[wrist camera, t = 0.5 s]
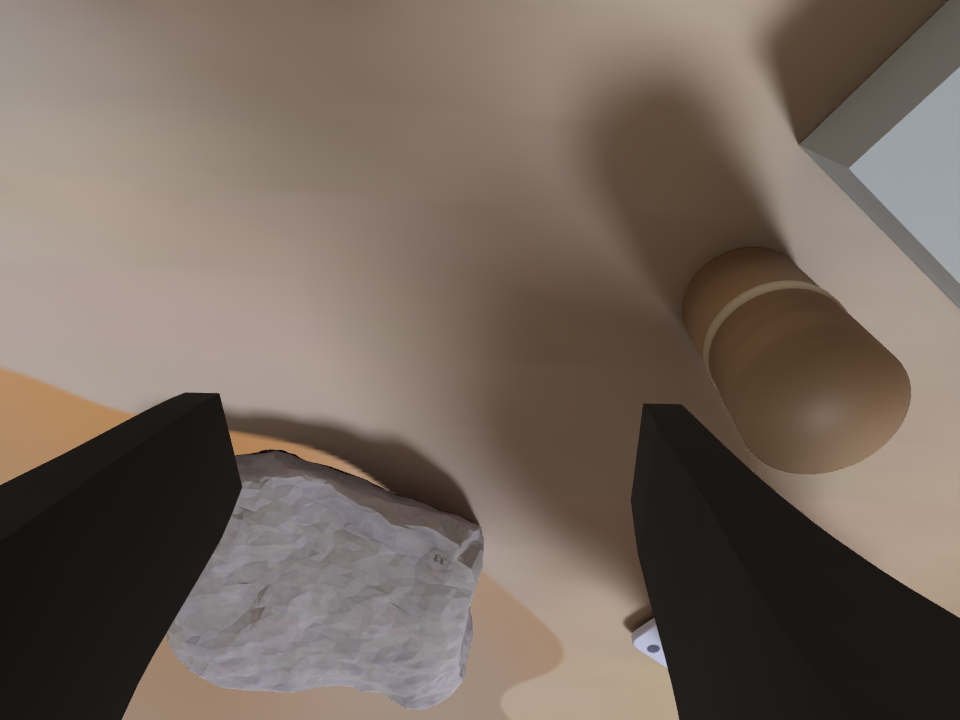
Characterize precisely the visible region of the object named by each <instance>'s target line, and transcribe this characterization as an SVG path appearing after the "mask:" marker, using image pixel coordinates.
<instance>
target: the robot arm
mask: <svg viewBox="0 0 960 720" xmlns="http://www.w3.org/2000/svg"><path fill="white" fill-rule="evenodd" d="M241 490H242V483H241V479H240V475H239V471H238V467H237V463H236V459H235V455H234V451H233V447H232V443H231V439H230V435H229V431H228V427H227V423H226V419H225V415H224V411H223V407H222V402H221V398H220V394H219V393H183V394H181V395H178V396H176V397H173V398H171V399H169V400H166V401H164V402H162V403H160V404H158V405H156V406H154V407H152V408H150V409H148V410H146V411H144V412H142V413H140V414H138V415H136V416H135V417H133V418H131V419H129V420H127V421H125V422H123V423H121V424H119V425H118V426H116V427H114V428H112V429H110V430H108V431H106V432H105V433H103V434H101V435H99V436H97V437H95V438H93V439H91V440H89V441H87V442H85V443H84V444H82V445H80V446H78V447H76V448H74V449H72V450H70V451H68V452H66V453H64V454H63V455H61V456H58V457H57V458H54V459H52V460H50V461H49V462H46V463H44V464H42V465H40V466H38V467H37V468H34V469H32V470H30V471H28V472H26V473H24V474H22V475H20V476H18V477H16V478H14V479H12V480H10V481H8V482H6V483H4V484H2V485H0V720H121V719H122V717H123V715H124V713H125V711H126V709H127V707H128V704H129V702H130V700H131V698H132V696H133V694H134V691H135V689H136V687H137V685H138V683H139V681H140V679H141V677H142V675H143V674H144V672H145V670H146V668H147V666H148V664H149V662H150V661H151V659H152V657H153V655H154V653H155V651H156V650H157V648H158V647H159V645H160V643H161V641H162V640H163V638H164V636H165V635H166V633H167V631H168V630H169V628H170V626H171V624H172V623H173V621H174V619H175V618H176V616H177V614H178V613H179V611H180V609H181V608H182V606H183V604H184V602H185V601H186V599H187V597H188V596H189V594H190V592H191V591H192V589H193V587H194V586H195V584H196V582H197V580H198V579H199V577H200V575H201V574H202V572H203V570H204V568H205V567H206V565H207V563H208V561H209V560H210V558H211V556H212V554H213V553H214V551H215V549H216V547H217V546H218V544H219V542H220V540H221V538H222V536H223V534H224V532H225V529H226V527H227V525H228V522H229V520H230V518H231V515H232V513H233V510H234V508H235V505H236V503H237V500H238V497H239V495H240V492H241ZM631 504H632V513H633V521H634V529H635V536H636V543H637V551H638V556H639V560H640V564H641V568H642V572H643V576H644V580H645V584H646V588H647V592H648V596H649V599H650V603H651V607H652V611H653V615H654V618H653V619H651V620H650V621H648V622H647V623H645V624H644V625H642V626H641V627H639V628H638V629H636V630H635V631H634V632H633V633H632V636H631V637H632V643H633V646H634V647H635V648H637V649H638V650H640V651H641V652H643V653H645V654H646V655H648V656H649V657H651V658H652V659H654V660H656V661H657V662H659V663H660V664H662V665H663V666H665V667H666V668H668V671H669V675H670V679H671V683H672V687H673V692H674V696H675V701H676V705H677V710H678V715H679V720H960V618H959V617H957V616H955V615H954V614H952V613H950V612H949V611H947V610H945V609H944V608H942V607H940V606H939V605H937V604H935V603H934V602H932V601H930V600H929V599H927V598H925V597H923V596H922V595H920V594H918V593H917V592H915V591H913V590H912V589H910V588H908V587H907V586H905V585H904V584H902V583H900V582H899V581H897V580H896V579H894V578H893V577H891V576H889V575H888V574H886V573H885V572H883V571H882V570H880V569H879V568H877V567H876V566H874V565H873V564H871V563H870V562H868V561H867V560H866V559H864V558H863V557H861V556H860V555H858V554H857V553H855V552H854V551H853V550H851V549H850V548H848V547H847V546H845V545H844V544H842V543H841V542H839V541H838V540H837V539H835V538H834V537H832V536H831V535H830V534H828V533H827V532H826V531H824V530H823V529H822V528H820V527H819V526H818V525H816V524H815V523H814V522H812V521H811V520H810V519H809V518H807V517H806V516H805V515H804V514H802V513H801V512H800V511H799V510H797V509H796V508H795V507H794V506H792V505H791V504H790V503H789V502H787V501H786V500H785V499H784V498H782V497H781V496H780V495H779V494H778V493H776V492H775V491H774V490H773V489H772V488H771V487H769V486H768V485H767V484H766V483H765V482H764V481H762V480H761V479H760V478H759V477H758V476H757V475H756V474H755V473H753V472H752V471H751V470H750V469H749V468H748V467H747V466H746V465H745V464H743V463H742V462H741V461H740V460H739V459H738V458H737V457H736V456H735V455H734V454H733V453H732V452H730V451H729V450H728V449H727V448H726V447H725V446H724V445H723V444H722V443H721V442H720V441H719V440H718V439H717V438H716V437H715V436H714V435H713V434H712V433H711V432H710V431H709V430H708V429H706V428H705V427H704V426H703V425H702V424H701V423H700V422H699V421H698V420H697V419H696V418H695V417H694V416H693V415H692V414H691V413H690V412H689V411H688V410H687V409H686V408H685V407H683V406H682V405H680V404H643V410H642V418H641V426H640V434H639V442H638V450H637V458H636V465H635V473H634V481H633V489H632V497H631Z"/></svg>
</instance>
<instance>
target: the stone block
mask: <svg viewBox="0 0 960 720" xmlns="http://www.w3.org/2000/svg"><path fill="white" fill-rule="evenodd" d="M235 459H236V463H237V467H238V471H239V475H240V479H241V483H242V490H241V492H240V495H239V497H238V500H237V503H236V505H235V508H234V510H233V513H232V515H231V518H230V520H229V522H228V525H227V527H226V529H225V532H224V534H223V536H222V538H221V540H220V542H219V544H218V546H217V547H216V549H215V551H214V553H213V554H212V556H211V558H210V560H209V561H208V563H207V565H206V567H205V568H204V570H203V572H202V574H201V575H200V577H199V579H198V580H197V582H196V584H195V586H194V587H193V589H192V591H191V592H190V594H189V596H188V597H187V599H186V601H185V602H184V604H183V606H182V608H181V609H180V611H179V613H178V614H177V616H176V618H175V619H174V621H173V623H172V624H171V626H170V628H169V630H168V633H167V637H168V643H169V645H170V648H171V649H172V651H173V653H174V654H175V656H176V657H177V659H178V660H179V661H180V662H181V663H183V664H184V665H186V666H188V669H189V671H190V672H193V673H196V674H197V675H198V676H199V677H201V678H203V679H205V680H207V681H209V682H211V683H213V684H215V685H217V686H220V687H222V688H230V689H242V690H266V691H271V692H275V691H278V692H286V693H291V692H297V691H304V690H307V689H311V688H317V687H325V686H351V687H354V688H357V689H358V690H360V691H366V692H378V693H381V694H383V695H385V696H387V697H388V698H390V699H391V700H393V701H395V702H396V703H398V704H399V705H401V706H403V707H404V708H407V709H422V710H423V709H426V708H429V707H431V706H434V705H436V704H438V703H440V702H441V701H443V700H445V699H446V698H448V697H449V696H450V695H451V694H452V693H453V692H454V691H455V690H456V688H457V687H458V686H459V685H460V684H461V682H462V681H463V679H464V676H465V669H466V663H467V658H468V654H469V649H470V645H471V641H472V634H473V630H472V617H471V614H470V604H471V601H472V598H473V594H474V591H475V588H476V585H477V582H478V578H479V575H480V572H481V569H482V562H483V552H484V540H483V535H482V530H481V527H480V526H478V525H477V524H474V523H471V522H469V521H467V520H466V519H464V518H462V517H461V516H459V515H454V514H451V513H447V512H442V511H439V510H437V509H435V508H433V507H431V506H429V505H427V504H425V503H422V502H418V501H416V500H414V499H411V498H407V497H402V496H397V495H394V494H392V493H390V492H389V491H386V490H385V489H384V488H382V487H380V486H378V485H375V484H373V483H371V482H370V481H368V480H366V479H363V478H360V477H358V476H355V475H352V474H350V473H347V472H344V471H341V470H339V469H336V468H333V467H331V466H327V465H322V464H318V463H313V462H308V461H306V460H304V459H302V458H300V457H298V456H297V455H295V454H292V453H288V452H286V451H284V450H273V449H269V450H262V451H260V452H256V453H250V454H242V455H235Z"/></svg>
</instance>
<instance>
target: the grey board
mask: <svg viewBox="0 0 960 720" xmlns="http://www.w3.org/2000/svg"><path fill="white" fill-rule="evenodd" d="M799 146H800V147H801V148H802V149H803V150H804V151H805V152H806V153H807V154H808V155H809V156H810V157H811V158H812V159H813V160H814V161H815V162H816V163H817V164H818V165H819V166H820V167H821V168H822V169H823V170H824V171H825V172H826V173H827V174H828V175H829V176H830V177H831V178H832V179H833V180H834V181H835V182H836V184H837V185H838V186H839V187H840V188H841V189H842V190H843V191H844V192H845V193H846V194H847V195H848V196H849V197H850V198H851V199H852V200H853V201H854V202H855V203H856V204H857V205H858V206H859V207H860V208H861V209H862V210H863V211H864V212H865V213H866V214H867V215H868V216H869V217H870V218H871V219H872V220H873V221H874V222H875V223H876V224H877V225H878V226H879V227H880V228H881V229H882V230H883V231H884V232H885V233H886V235H887V236H888V237H889V238H890V239H891V240H892V241H893V242H894V243H895V244H896V245H897V246H898V247H899V248H900V249H901V250H902V251H903V252H904V253H905V254H906V255H907V256H908V257H909V258H910V259H911V260H912V261H913V262H914V263H915V264H916V265H917V266H918V267H919V268H920V269H921V270H922V271H923V272H924V273H925V274H926V275H927V276H928V277H929V278H930V279H931V280H932V281H933V282H934V283H935V284H936V286H937V287H938V288H939V289H940V290H941V291H942V292H943V293H944V294H945V295H946V296H947V297H948V298H949V299H950V300H951V301H952V302H953V303H954V304H955V305H956V306H957V307H958V308H959V309H960V0H948V1H947V2H946V3H945V4H944V5H943V6H942V7H941V8H940V9H939V10H938V11H937V12H936V13H935V14H934V15H933V16H932V17H931V18H930V19H929V20H928V21H927V22H925V23H924V24H923V25H922V26H921V27H920V28H919V29H918V30H917V31H916V32H915V33H914V34H913V35H912V36H911V37H910V38H909V39H908V40H907V41H906V42H905V43H904V44H903V45H902V46H901V47H900V48H899V49H898V50H897V51H895V52H894V53H893V54H892V55H891V56H890V57H889V58H888V59H887V60H886V61H885V62H884V63H883V64H882V65H881V66H880V67H879V68H878V69H877V70H876V71H875V72H874V73H873V74H872V75H871V76H870V77H869V78H868V79H867V80H865V81H864V82H863V83H862V84H861V85H860V86H859V87H858V88H857V89H856V90H855V91H854V92H853V93H852V94H851V95H850V96H849V97H848V98H847V99H846V100H845V101H844V102H843V103H842V104H841V105H840V106H839V107H838V108H837V109H835V110H834V111H833V112H832V113H831V114H830V115H829V116H828V117H827V118H826V119H825V120H824V121H823V122H822V123H821V124H820V125H819V126H818V127H817V128H816V129H815V130H814V131H813V132H812V133H811V134H810V135H809V136H808V137H806V138H805V139H804V140H803V141H802V142H801V143H800V144H799Z"/></svg>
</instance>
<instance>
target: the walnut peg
mask: <svg viewBox="0 0 960 720" xmlns="http://www.w3.org/2000/svg"><path fill="white" fill-rule="evenodd" d="M683 319H684V323H685V326H686V328H687V330H688V332H689V334H690V336H691V338H692V340H693V342H694V344H695V346H696V348H697V350H698V352H699V354H700V356H701V358H702V359H703V361H704V365H705V368H706V371H707V373H708V375H709V377H710V379H711V381H712V383H713V385H714V386H715V388H716V389H717V390H718V392H719V393H720V395H721V397H722V398H723V400H724V402H725V404H726V406H727V408H728V410H729V412H730V414H731V416H732V418H733V420H734V422H735V424H736V426H737V428H738V430H739V432H740V434H741V436H742V438H743V439H744V441H745V443H746V445H747V447H748V448H749V449H750V451H751V452H752V453H753V454H754V455H755V456H756V457H757V458H758V459H759V460H761V461H762V462H764V463H765V464H767V465H769V466H771V467H773V468H776V469H778V470H781V471H785V472H790V473H796V474H819V473H826V472H832V471H836V470H839V469H843V468H846V467H848V466H851V465H853V464H856V463H858V462H860V461H862V460H864V459H865V458H867V457H869V456H870V455H872V454H873V453H875V452H876V451H877V450H879V449H880V448H881V447H882V446H884V445H885V444H886V443H887V442H888V441H889V440H890V439H891V438H892V436H893V435H894V434H895V433H896V432H897V430H898V429H899V427H900V426H901V424H902V422H903V420H904V418H905V416H906V414H907V411H908V408H909V405H910V399H911V386H910V381H909V377H908V375H907V372H906V370H905V369H904V367H903V365H902V364H901V363H900V361H899V360H898V359H897V358H896V357H895V356H894V355H893V354H892V353H891V352H890V351H889V350H887V349H886V348H885V347H884V346H883V345H882V344H881V343H880V342H879V341H878V340H877V339H876V338H874V337H873V336H872V335H871V334H870V333H869V332H868V331H867V330H866V329H865V328H864V327H863V326H861V325H860V324H859V323H858V322H857V321H856V320H855V319H854V318H853V317H852V316H851V315H850V314H848V312H847V311H846V309H845V308H844V307H843V306H842V304H841V303H840V302H839V301H838V300H836V299H835V298H834V297H833V296H832V295H831V294H829V293H828V292H827V291H825V290H824V289H822V288H820V287H819V286H818V285H817V284H816V283H815V282H814V281H813V280H812V279H811V278H809V277H808V276H807V275H806V274H805V273H804V272H803V271H802V270H801V269H800V268H799V267H798V266H796V265H795V264H794V263H793V262H792V261H791V260H790V259H788V258H787V257H786V256H784V255H783V254H781V253H779V252H777V251H774V250H771V249H767V248H762V247H745V248H739V249H735V250H731V251H729V252H726V253H723V254H722V255H720V256H718V257H716V258H714V259H713V260H711V261H710V262H708V263H707V264H706V265H705V266H704V267H702V268H701V270H700V271H699V272H698V273H697V274H696V275H695V277H694V278H693V279H692V281H691V282H690V284H689V286H688V288H687V290H686V293H685V296H684V300H683Z"/></svg>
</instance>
